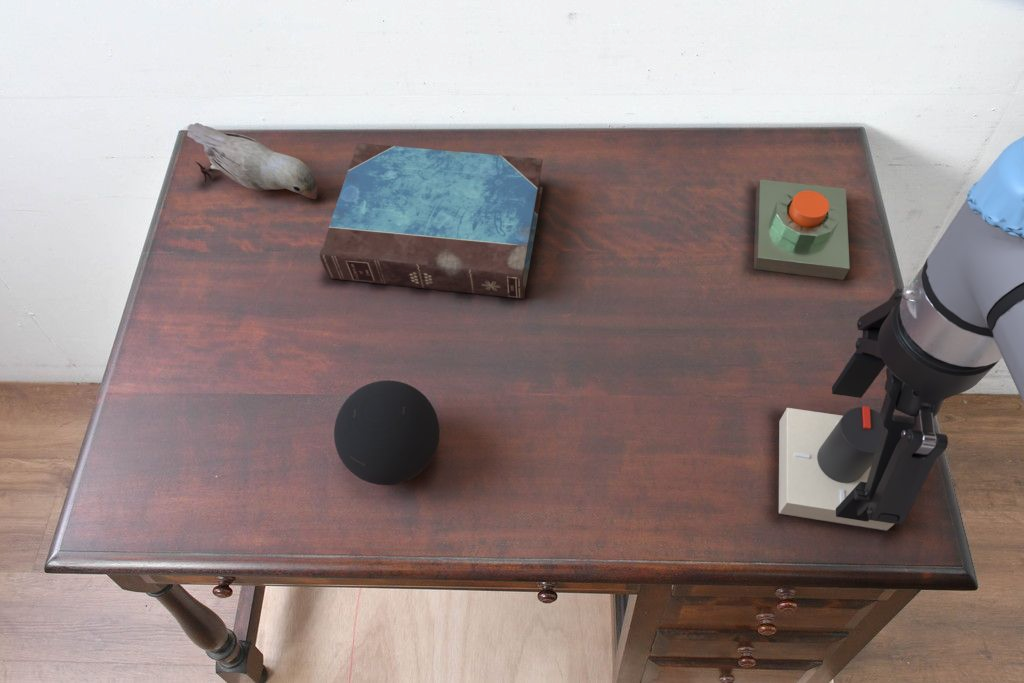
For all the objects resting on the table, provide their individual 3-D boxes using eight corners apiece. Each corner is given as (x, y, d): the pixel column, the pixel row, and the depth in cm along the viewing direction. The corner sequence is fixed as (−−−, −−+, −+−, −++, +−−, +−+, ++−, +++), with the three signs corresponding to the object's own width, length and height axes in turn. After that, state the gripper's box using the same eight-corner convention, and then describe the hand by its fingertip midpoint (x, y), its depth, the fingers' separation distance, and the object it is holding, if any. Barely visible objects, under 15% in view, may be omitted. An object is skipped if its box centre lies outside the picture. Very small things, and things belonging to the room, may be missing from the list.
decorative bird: (309, 215, 98) (292, 172, 91) (197, 184, 101) (174, 140, 95) (329, 184, 100) (314, 140, 94) (219, 155, 104) (198, 110, 97)
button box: (843, 280, 90) (855, 258, 87) (753, 269, 91) (761, 247, 88) (840, 200, 96) (850, 177, 93) (755, 191, 97) (763, 168, 94)
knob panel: (887, 530, 75) (900, 519, 72) (778, 513, 76) (787, 502, 73) (880, 435, 80) (892, 421, 77) (779, 420, 81) (787, 406, 79)
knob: (866, 486, 74) (895, 455, 68) (817, 479, 75) (842, 447, 68) (863, 443, 76) (892, 409, 70) (816, 436, 77) (840, 402, 71)
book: (328, 281, 92) (318, 255, 88) (365, 170, 101) (357, 141, 97) (523, 302, 90) (522, 275, 86) (543, 186, 99) (543, 157, 95)
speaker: (438, 402, 84) (427, 353, 75) (450, 491, 78) (438, 450, 70) (344, 417, 83) (321, 370, 75) (348, 508, 78) (325, 468, 69)
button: (825, 229, 89) (829, 219, 88) (788, 225, 90) (792, 215, 88) (824, 202, 92) (828, 192, 90) (788, 198, 92) (792, 188, 91)
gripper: (884, 189, 62) (805, 336, 80) (908, 476, 49) (808, 572, 68) (987, 200, 61) (883, 347, 79) (1036, 496, 49) (900, 587, 67)
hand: (848, 451), depth 74 cm, fingers open, 12 cm apart
